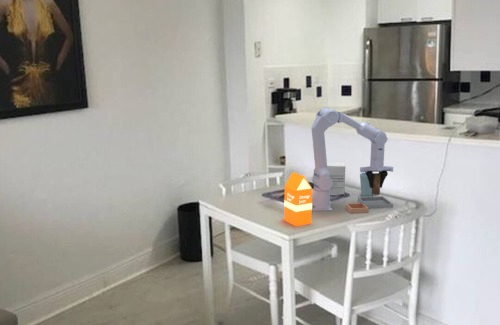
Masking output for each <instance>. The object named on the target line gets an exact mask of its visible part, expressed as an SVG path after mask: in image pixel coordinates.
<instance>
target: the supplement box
mask: <svg viewBox="0 0 500 325" xmlns="http://www.w3.org/2000/svg"><path fill="white" fill-rule="evenodd" d="M327 168H328V171H329V173H330V178H331V179H332V182H333V184H332V187H331V188H330V194H344V195H345V192H346V191H345V189H346V187H345V186H346V165H345V164H344V162H343V161H327Z"/></svg>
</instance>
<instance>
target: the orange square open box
mask: <svg viewBox="0 0 500 325" xmlns="http://www.w3.org/2000/svg"><path fill="white" fill-rule="evenodd" d="M344 204H345V210H347V212H348V213H350V214H369V210H370V208H368V207H367V206H366V205H364V204H363V203H360V202H354V203H353V202H352V203H344Z"/></svg>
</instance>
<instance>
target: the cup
mask: <svg viewBox="0 0 500 325" xmlns="http://www.w3.org/2000/svg"><path fill="white" fill-rule="evenodd" d="M359 180H360V195H361V197H374V194H372V188H370V185H369V180H368V177H367V175H366V173H365V172H363V173H361V172H360V173H359Z"/></svg>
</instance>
